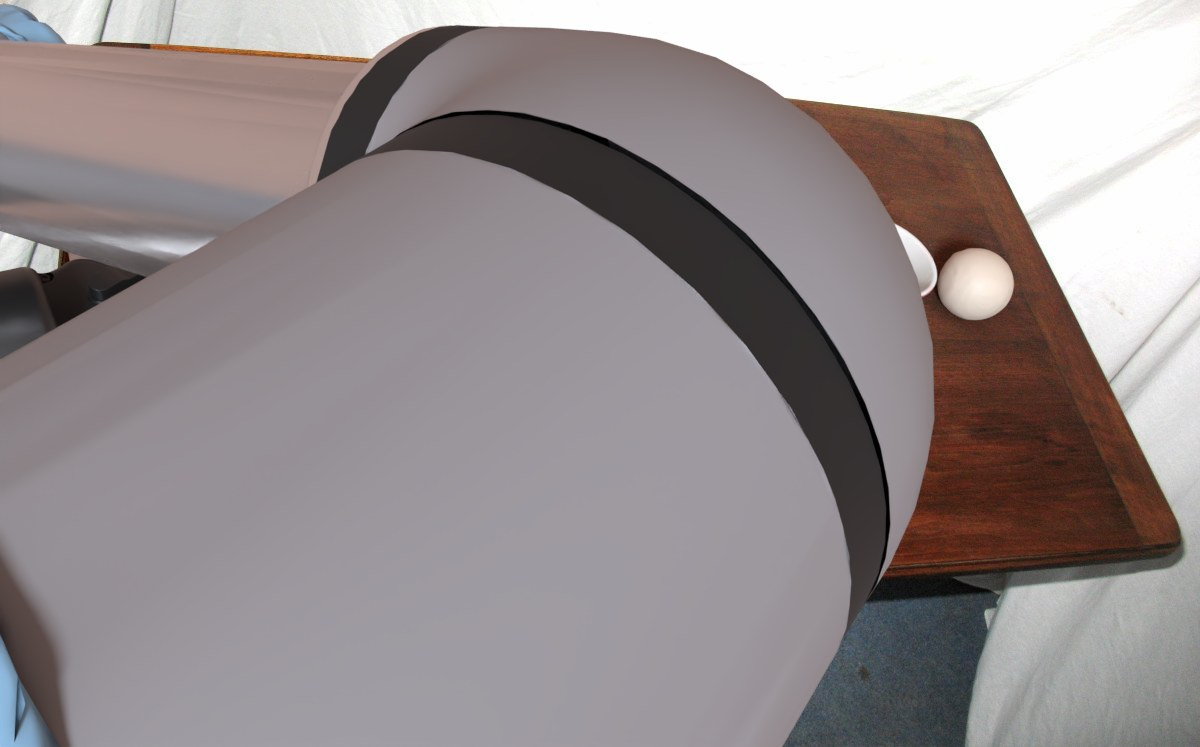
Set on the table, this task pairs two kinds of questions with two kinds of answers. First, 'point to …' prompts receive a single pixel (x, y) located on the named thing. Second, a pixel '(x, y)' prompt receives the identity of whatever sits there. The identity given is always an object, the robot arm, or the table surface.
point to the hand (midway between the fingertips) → (405, 253)
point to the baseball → (975, 284)
